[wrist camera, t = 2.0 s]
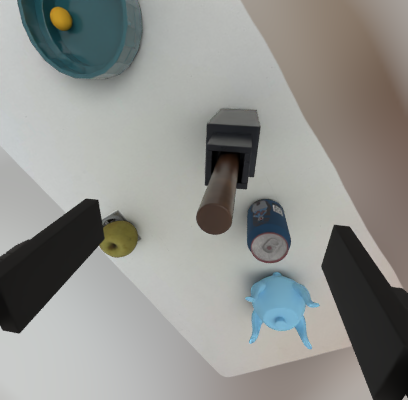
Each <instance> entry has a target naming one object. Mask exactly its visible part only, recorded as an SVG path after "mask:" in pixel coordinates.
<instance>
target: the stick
mask: <svg viewBox="0 0 408 400" xmlns="http://www.w3.org/2000/svg"><path fill="white" fill-rule="evenodd" d="M239 161H240V153H235V152H222V151H221V153H220V155H219V158H218V161H217V163H216V166H215V168H214V171H213V173H212V176H211V178H210V181H209V184H208V186H207V189H206V191H205V194H204V196H203V199H202V201H201V204H200V207H199V209H198V212H197V215H196V220H197V223H198V225H199V227H200V228H201V229H202V230H203V231H204V232H206V233H209V234H213V235H218V234H222V233H224V232H226V231H227V230H228V229H229V228H230V226H231V224H232V218H233V210H234V202H235V194H236V186H237V177H238V169H239Z"/></svg>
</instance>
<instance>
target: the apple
mask: <svg viewBox="0 0 408 400" xmlns="http://www.w3.org/2000/svg"><path fill="white" fill-rule="evenodd" d="M103 231H104V237H105V239H104V240H103V241H102V243H101V244H100V245H99V246H100V248H101V249H102V250H103V251H104V252H105V253H106V254H108V255H110V256H112V257H123V256H126V255H128V254H130V253H131V252H132V251H133V250H134V248H135V247H136V244H137V241H138V234H137V231H136V228H135V227H134V226H133V225H132V224H131V223H129V222H126V221H115V222H112V223H109V224H108V225H106V226H105V227H104V228H103Z"/></svg>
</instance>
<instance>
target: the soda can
mask: <svg viewBox="0 0 408 400" xmlns="http://www.w3.org/2000/svg"><path fill="white" fill-rule="evenodd" d="M247 245H248V248H249V249H250V251H251V252H252V254H253V256H254V257H255V258H256V259H258V260H259V261H261V262H265V263H275V262H278V261H281V260H282V259H283V258H284V257H285V256H286V255H287V253H288V250H289V248H290V245H291V238H290V234H289V230H288V226H287V222H286V218H285V214H284V210H283V208H282V207H281V205H280V204H278V203H277V202H275V201H273V200H269V199H263V200H259V201H257V202H255V203H254V204H252V205H251V207H250V208H249V210H248V214H247Z"/></svg>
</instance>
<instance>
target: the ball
mask: <svg viewBox="0 0 408 400" xmlns="http://www.w3.org/2000/svg"><path fill="white" fill-rule="evenodd" d="M50 19H51V22H52V23H53V25H54V26H55V27H56V28H57V29H59V30H62V31H67V30H69V29H70V28H71V26H72V18H71V16H70V14H69V13H68V11H67V10H65V9H64V8H62V7H54V8H53V9H52V10H51V12H50Z"/></svg>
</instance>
